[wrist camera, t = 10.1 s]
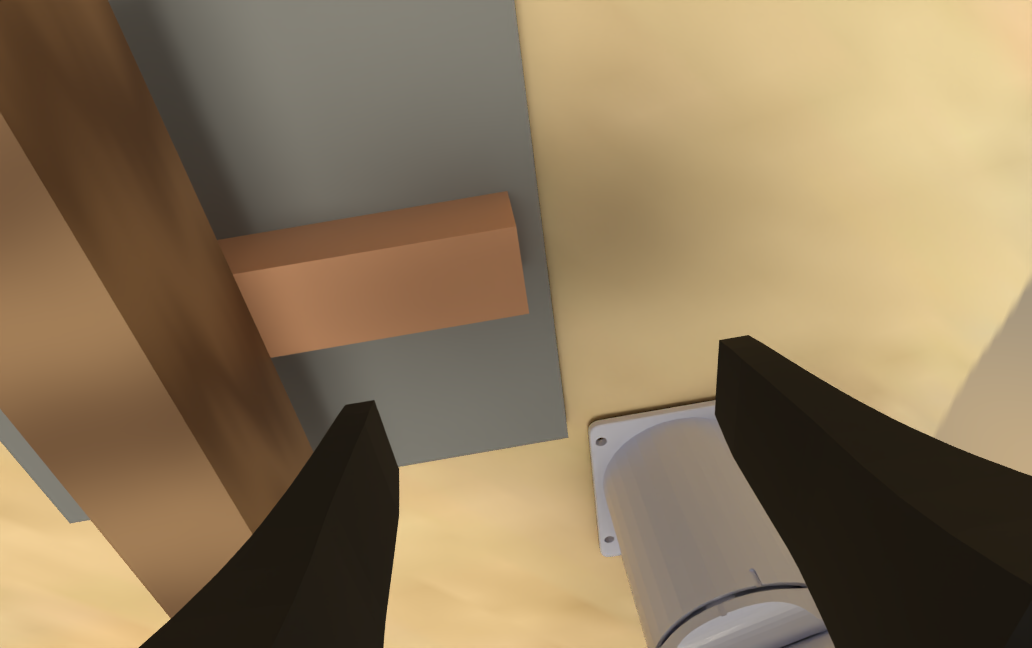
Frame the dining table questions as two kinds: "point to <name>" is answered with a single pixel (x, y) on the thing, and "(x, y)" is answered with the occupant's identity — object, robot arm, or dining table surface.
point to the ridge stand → (365, 209)
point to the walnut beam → (127, 311)
